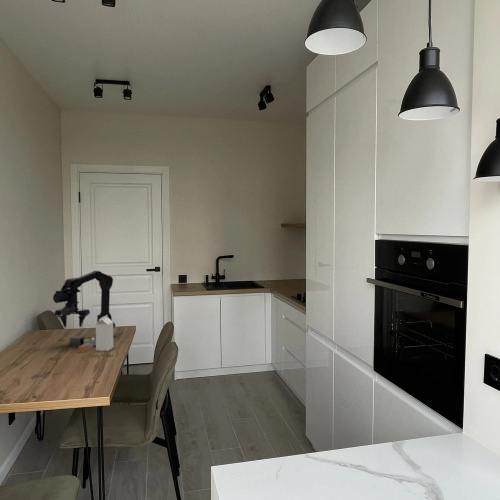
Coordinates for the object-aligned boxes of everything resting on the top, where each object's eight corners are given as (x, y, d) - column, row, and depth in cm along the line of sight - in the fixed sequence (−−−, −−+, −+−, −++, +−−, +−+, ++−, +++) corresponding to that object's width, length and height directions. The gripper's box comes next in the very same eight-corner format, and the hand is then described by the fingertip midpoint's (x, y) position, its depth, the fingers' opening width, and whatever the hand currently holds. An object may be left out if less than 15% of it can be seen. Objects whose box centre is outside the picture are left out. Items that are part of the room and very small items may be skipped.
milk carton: (113, 347, 234) (113, 315, 234) (108, 351, 227) (107, 317, 226) (101, 347, 235) (101, 315, 234) (95, 350, 228) (95, 317, 227)
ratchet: (87, 344, 241) (87, 335, 241) (99, 344, 240) (99, 335, 240) (71, 352, 225) (71, 342, 225) (84, 352, 224) (84, 343, 224)
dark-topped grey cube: (74, 344, 242) (74, 335, 242) (84, 344, 242) (83, 336, 241) (69, 346, 237) (69, 338, 237) (79, 346, 237) (79, 338, 236)
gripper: (48, 302, 229) (49, 330, 229) (80, 302, 227) (80, 330, 227) (59, 299, 240) (60, 325, 240) (90, 299, 238) (90, 326, 238)
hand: (72, 327), depth 236 cm, fingers open, 9 cm apart
